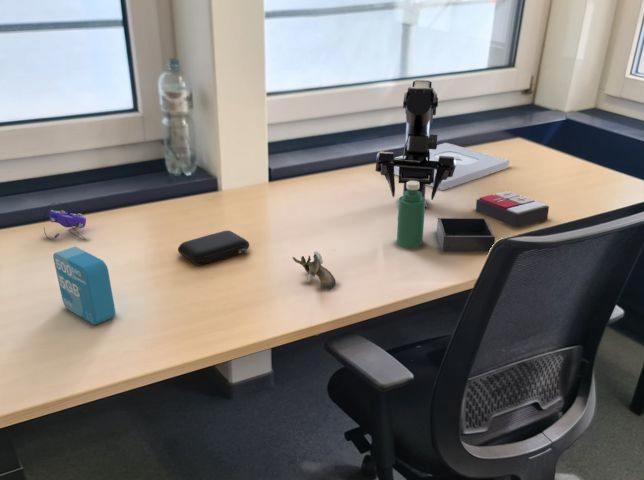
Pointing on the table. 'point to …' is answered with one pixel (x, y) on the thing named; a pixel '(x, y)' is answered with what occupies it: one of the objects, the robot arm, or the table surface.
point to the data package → (84, 285)
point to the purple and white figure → (67, 220)
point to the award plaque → (464, 164)
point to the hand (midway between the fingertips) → (412, 197)
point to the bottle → (411, 217)
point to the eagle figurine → (317, 271)
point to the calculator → (512, 209)
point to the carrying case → (213, 247)
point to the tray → (465, 234)
